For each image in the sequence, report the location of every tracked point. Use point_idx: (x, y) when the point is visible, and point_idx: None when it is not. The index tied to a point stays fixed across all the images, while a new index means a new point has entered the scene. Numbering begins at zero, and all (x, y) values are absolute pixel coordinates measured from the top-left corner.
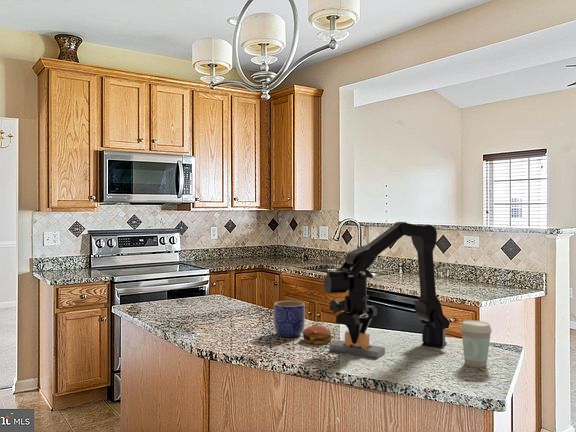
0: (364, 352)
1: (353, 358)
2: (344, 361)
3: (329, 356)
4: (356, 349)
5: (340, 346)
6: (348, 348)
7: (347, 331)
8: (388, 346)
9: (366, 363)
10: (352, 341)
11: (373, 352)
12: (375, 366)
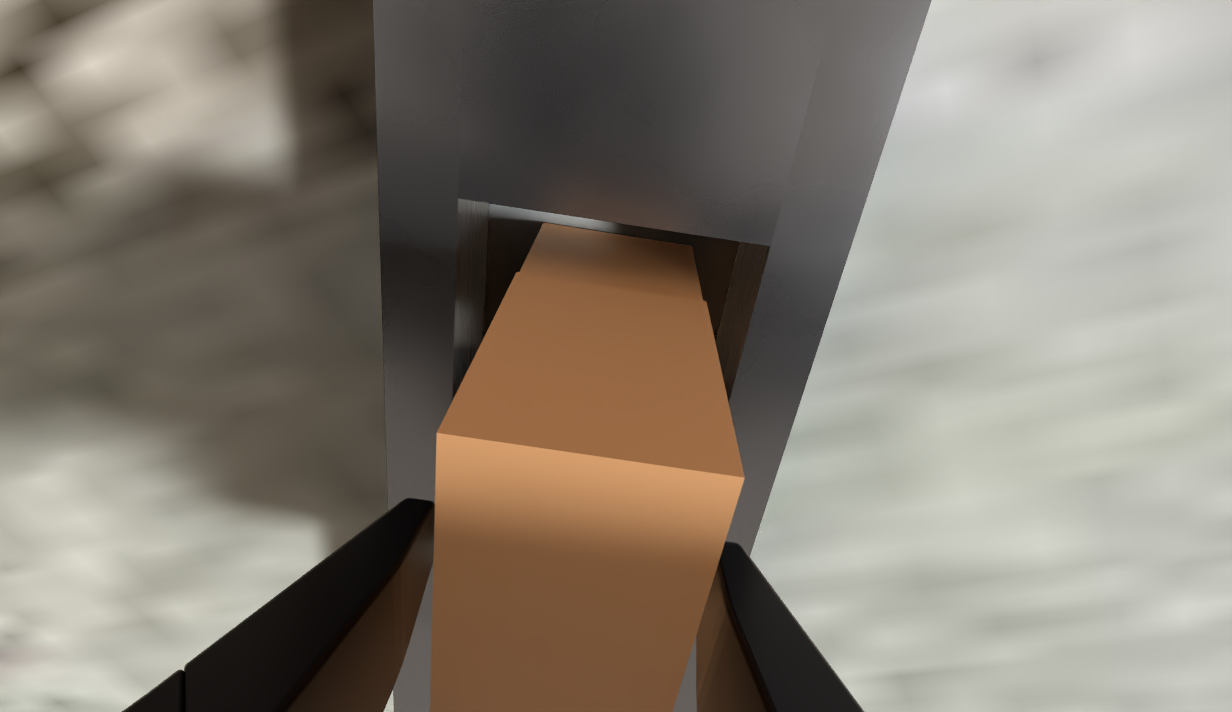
0: None
1: (245, 444)
2: (13, 370)
3: (42, 32)
4: (391, 507)
5: (385, 189)
6: (390, 367)
7: (607, 485)
8: (1056, 696)
9: (166, 611)
10: (377, 528)
11: (397, 707)
12: (140, 693)
